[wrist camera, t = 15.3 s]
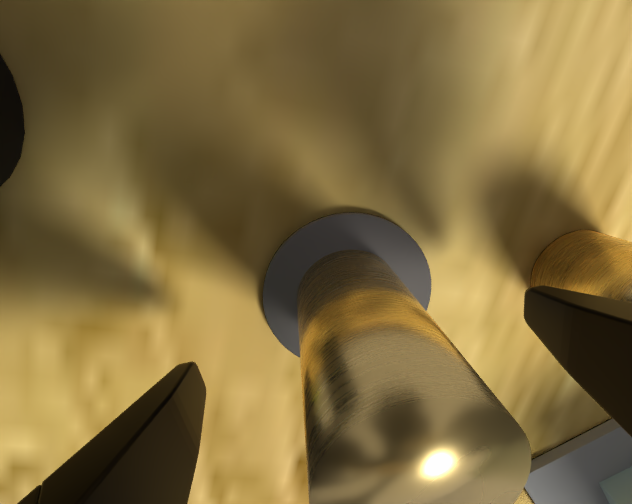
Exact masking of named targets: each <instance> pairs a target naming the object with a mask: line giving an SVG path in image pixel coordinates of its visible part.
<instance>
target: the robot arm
mask: <svg viewBox="0 0 632 504" xmlns="http://www.w3.org/2000/svg"><path fill="white" fill-rule="evenodd" d="M524 318H525V321H526V323H527V324H528V326H529V327H530V328H531V329H532V330H533V332H534V333H535V334H536V335H537V337H538V338H539V339H540V340H541V341H542V343H543V344H544V345H545V346H546V347H547V349H548V350H549V351H550V352H551V354H552V355H553V356H554V357H555V358H556V360H557V361H558V362H559V363H560V364H561V366H562V367H563V368H564V369H565V370H566V371H567V372H568V373H569V374H570V375H571V377H572V378H573V379H574V380H575V381H576V382H577V383H578V384H579V385H580V386H581V387H582V388H583V389H584V390H585V391H586V392H587V393H588V394H589V395H590V396H591V397H592V398H593V399H594V400H595V401H596V402H597V403H598V404H599V405H600V406H601V407H602V408H603V409H604V410H605V411H606V412H607V413H608V414H609V415H610V416H611V417H612V418H613V419H614V420H615V421H616V422H617V423H618V424H619V425H620V426H621V427H622V428H623V429H624V430H625V431H626V432H627V433H628V434H629V435H630V436H631V437H632V302H627V301H622V300H617V299H612V298H606V297H601V296H596V295H591V294H586V293H581V292H576V291H571V290H565V289H560V288H555V287H550V286H545V285H540V286H536V287H531V288H528V289H527V290H526V291H525V298H524ZM205 400H206V387H205V383H204V381H203V379H202V376H201V374H200V371H199V369H198V366H197V364H196V363H195V362H188V363H183V364H179V365H177V366H176V367H175V368H174V369H172V370H171V371H170V372H169V373H168V374H167V375H166V376H164V377H163V378H162V379H161V380H160V381H159V382H157V383H156V384H155V385H154V386H153V387H152V388H151V389H149V390H148V391H147V392H146V393H145V394H144V395H142V396H141V397H140V398H139V399H138V400H137V401H135V402H134V403H133V404H132V405H131V406H130V407H129V408H127V409H126V410H125V411H124V412H123V413H122V414H120V415H119V416H118V417H117V418H116V419H115V420H114V421H112V422H111V423H110V424H109V425H108V426H107V427H105V428H104V429H103V430H102V431H101V432H100V433H99V434H97V435H96V436H95V437H94V438H93V439H92V440H90V441H89V442H88V443H87V444H86V445H85V446H83V447H82V448H81V449H80V450H79V451H78V452H77V453H75V454H74V455H73V456H72V457H71V458H70V459H68V460H67V461H66V462H65V463H64V464H63V465H62V466H60V467H59V468H58V469H57V470H56V471H55V472H53V473H52V474H51V475H50V476H49V477H48V478H46V479H45V480H44V481H43V483H42V485H39V486H37V487H36V488H35V489H34V490H32V491H31V492H30V493H29V494H28V495H27V496H26V497H24V498H23V499H22V500H21V501H20V502H19V503H18V504H187V502H188V498H189V494H190V489H191V485H192V481H193V476H194V472H195V468H196V463H197V458H198V454H199V447H200V440H201V432H202V424H203V416H204V408H205Z"/></svg>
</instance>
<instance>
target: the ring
mask: <svg viewBox="0 0 632 504" xmlns="http://www.w3.org/2000/svg"><path fill="white" fill-rule="evenodd" d="M342 250H362V251H366V252H369V253H372V254H374V255H376V256H378V257H380V258H381V259H382V260H384V261H385V262H386V263H387V264H388V265H389V266H390V267H391V269H392V270H393V271H394V272H395V273H396V275H397V276H398V277H399V278H400V280H401V281H402V282H403V283H404V284H405V286H406V287H407V288H408V289H409V291H410V292H411V293H412V294H413V296H414V297H415V298H416V299H417V300H418V302H419V303H420V304H421V305H422V307H423V308H424V309H425V310H427V308H428V304H429V301H430V294H431V275H430V269H429V266H428V263H427V260H426V258H425V256H424V254H423V252H422V250H421V249H420V247H419V246H418V244H417V243H416V242H415V241H414V240H413V239H412V237H411V236H410V235H408V234H407V233H406V232H405V231H403V230H402V229H401V228H400V227H398V226H397V225H395V224H393V223H392V222H390V221H388V220H386V219H383V218H381V217H378V216H374V215H370V214H365V213H339V214H332V215H329V216H325V217H322V218H319V219H317V220H314V221H312V222H310V223H308V224H307V225H305V226H303V227H301V228H300V229H298V230H297V231H296V232H295V233H293V234H292V235H291V236H290V237H289V238H288V239H287V240H286V241H285V242H284V243H283V244H282V245H281V246H280V248H279V249H278V250H277V252H276V253H275V255H274V257H273V259H272V260H271V262H270V265H269V267H268V270H267V273H266V277H265V281H264V288H263V307H264V312H265V316H266V319H267V322H268V324H269V326H270V328H271V330H272V332H273V334H274V335H275V336H276V338H277V339H278V340H279V341H280V343H281V344H282V345H283V346H284V347H285V348H287V349H288V350H289V351H291V352H292V353H293V354H295V355H296V356H298V357H300V345H299V328H298V312H297V292H298V288H299V284H300V282H301V280H302V278H303V276H304V275H305V273H306V272H307V271H308V269H309V268H310V267H311V266H312V265H313V264H314V263H315V262H317V261H318V260H320V259H321V258H323V257H325V256H326V255H329V254H331V253H334V252H337V251H342Z"/></svg>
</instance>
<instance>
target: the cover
mask: <svg viewBox="0 0 632 504" xmlns="http://www.w3.org/2000/svg"><path fill="white" fill-rule="evenodd" d="M599 484H600V486H601V488H602V490H603V492H604V494H605V496H606V498H607V500H608V502H609V504H632V467H630V468H628V469H625V470H623V471H621V472H619V473H617V474H615V475H613V476H611V477H609V478H607V479H605V480H603V481H601V482H599Z"/></svg>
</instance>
